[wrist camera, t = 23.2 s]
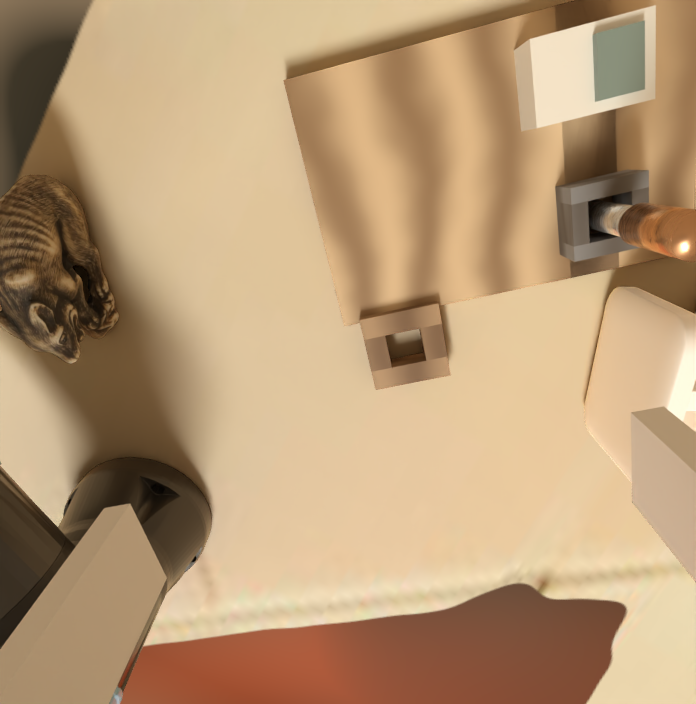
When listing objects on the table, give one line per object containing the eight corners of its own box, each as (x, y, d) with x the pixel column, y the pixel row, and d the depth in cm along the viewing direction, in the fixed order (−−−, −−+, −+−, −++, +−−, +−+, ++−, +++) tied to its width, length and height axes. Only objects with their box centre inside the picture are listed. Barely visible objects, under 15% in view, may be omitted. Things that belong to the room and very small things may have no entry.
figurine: (60, 333, 45) (-17, 378, 36) (25, 173, 40) (-77, 176, 31) (124, 335, 45) (63, 380, 36) (97, 174, 40) (17, 179, 30)
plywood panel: (344, 321, 44) (343, 337, 40) (285, 82, 37) (277, 73, 33) (684, 249, 41) (718, 258, 37) (692, -29, 34) (735, -54, 30)
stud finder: (521, 131, 37) (539, 127, 33) (513, 50, 35) (532, 36, 31) (628, 104, 36) (660, 97, 32) (627, 20, 34) (661, 2, 30)
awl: (575, 235, 39) (672, 266, 27) (573, 200, 38) (672, 217, 26) (610, 227, 39) (723, 255, 27) (609, 192, 38) (725, 205, 26)
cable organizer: (606, 271, 42) (692, 309, 31) (728, 271, 42) (857, 310, 31) (575, 419, 47) (639, 496, 37) (682, 421, 47) (778, 498, 36)
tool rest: (375, 380, 46) (375, 390, 44) (359, 313, 44) (359, 320, 42) (446, 366, 45) (450, 375, 44) (435, 297, 43) (438, 303, 41)
